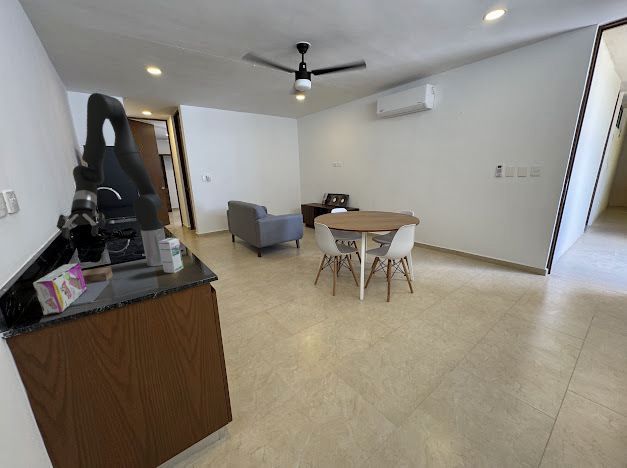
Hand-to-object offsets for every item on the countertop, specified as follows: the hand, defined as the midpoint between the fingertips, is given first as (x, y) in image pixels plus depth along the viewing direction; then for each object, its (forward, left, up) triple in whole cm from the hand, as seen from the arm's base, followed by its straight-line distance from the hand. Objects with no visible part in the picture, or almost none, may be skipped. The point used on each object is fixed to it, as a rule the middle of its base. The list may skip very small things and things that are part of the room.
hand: (79, 236), depth 99 cm
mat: (-1, +13, -19) cm, 23 cm away
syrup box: (-30, +1, -19) cm, 36 cm away
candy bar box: (0, +10, -13) cm, 17 cm away
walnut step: (-1, 0, -19) cm, 19 cm away
